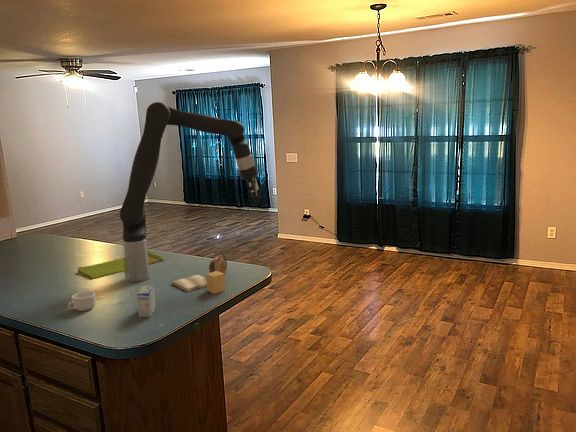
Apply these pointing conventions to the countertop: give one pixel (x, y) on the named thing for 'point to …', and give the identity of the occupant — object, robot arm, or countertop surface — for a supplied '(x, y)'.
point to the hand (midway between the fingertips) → (258, 201)
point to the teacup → (83, 300)
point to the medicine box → (146, 301)
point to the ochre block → (215, 282)
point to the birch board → (191, 283)
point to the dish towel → (113, 266)
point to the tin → (218, 264)
